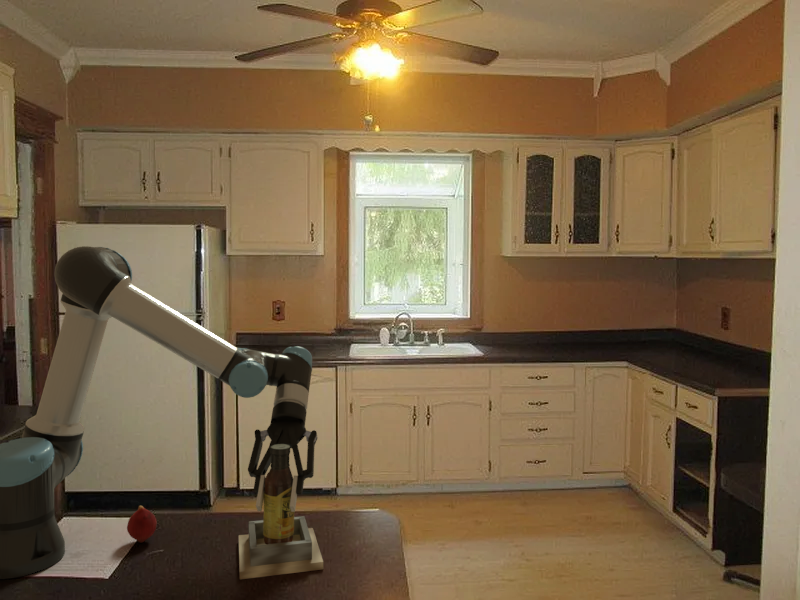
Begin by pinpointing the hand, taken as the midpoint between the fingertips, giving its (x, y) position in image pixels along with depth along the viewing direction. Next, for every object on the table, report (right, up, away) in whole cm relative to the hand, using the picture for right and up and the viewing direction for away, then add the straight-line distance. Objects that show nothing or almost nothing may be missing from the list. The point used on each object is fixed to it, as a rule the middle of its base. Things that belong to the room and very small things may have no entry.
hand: (275, 508), depth 121 cm
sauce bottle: (0, -8, +4) cm, 9 cm away
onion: (-31, -11, +9) cm, 34 cm away
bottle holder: (0, -11, +4) cm, 12 cm away
